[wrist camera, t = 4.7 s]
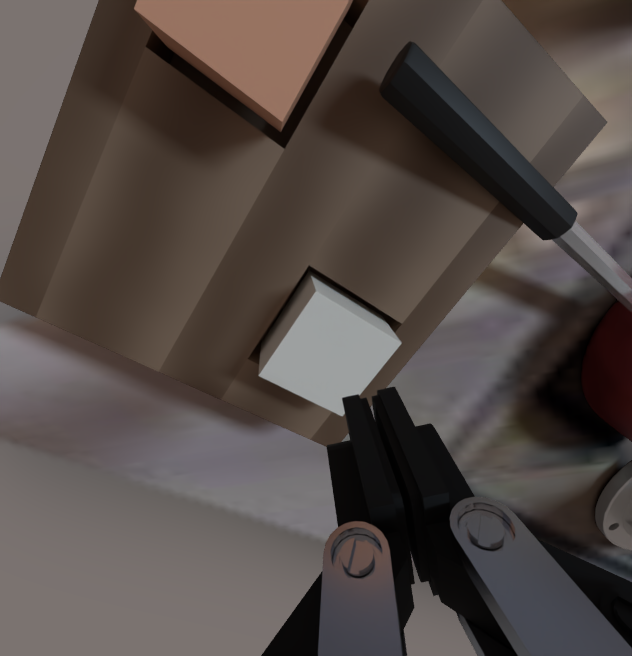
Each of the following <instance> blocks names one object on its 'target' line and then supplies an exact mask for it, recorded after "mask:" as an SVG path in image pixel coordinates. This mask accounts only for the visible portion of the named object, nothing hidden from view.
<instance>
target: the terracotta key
mask: <svg viewBox="0 0 632 656" xmlns="http://www.w3.org/2000/svg"><path fill="white" fill-rule="evenodd" d="M352 1H353V0H137V2H136V4H135V7H134V10H135V11H136V12H137V13H138V14H139V15H140V16H141V18H142V19H143V20H144V21H145V22H146V23H147V24H148V26H149V27H150V28H151V29H152V30H153V31H154V33H155V34H156V35H157V36H158V37H159V38H160V39H161V41H162V42H163V43H164V44H165V45H166V46H167V47H168V48H169V49H170V50H172V51H173V52H174V53H176V54H177V55H178V56H180V57H181V58H182V59H184V60H185V61H186V62H188V63H189V64H190V65H192V66H193V67H194V68H196V69H197V70H198V71H200V72H201V73H202V74H204V75H205V76H206V77H208V78H209V79H210V80H212V81H213V82H214V83H216V84H217V85H218V86H220V87H221V88H222V89H224V90H225V91H226V92H228V93H229V94H230V95H232V96H233V97H234V98H236V99H237V100H238V101H240V102H241V103H242V104H244V105H245V106H246V107H248V108H249V109H250V110H252V111H253V112H254V113H256V114H257V115H258V116H260V117H261V118H262V119H264V120H265V121H266V122H268V123H269V124H270V125H272V126H273V127H274V128H276V129H277V130H278V131H280V132H281V131H282V129H283V127H284V125H285V123H286V122H287V120H288V118H289V116H290V114H291V113H292V111H293V109H294V107H295V105H296V104H297V102H298V100H299V98H300V96H301V95H302V93H303V91H304V89H305V87H306V86H307V84H308V82H309V80H310V78H311V77H312V75H313V73H314V71H315V69H316V68H317V66H318V64H319V62H320V60H321V59H322V57H323V55H324V53H325V51H326V49H327V48H328V46H329V44H330V42H331V40H332V39H333V37H334V35H335V33H336V31H337V30H338V28H339V26H340V24H341V22H342V21H343V19H344V17H345V15H346V13H347V12H348V10H349V8H350V6H351V4H352Z"/></svg>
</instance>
